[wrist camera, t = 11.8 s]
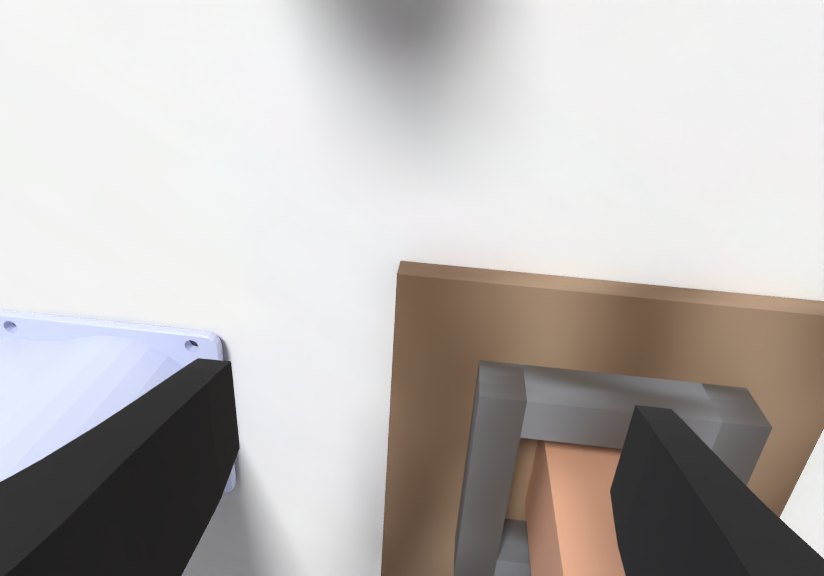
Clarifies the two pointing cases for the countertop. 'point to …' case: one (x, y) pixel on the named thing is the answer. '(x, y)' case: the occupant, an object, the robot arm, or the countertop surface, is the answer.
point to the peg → (572, 511)
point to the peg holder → (575, 396)
